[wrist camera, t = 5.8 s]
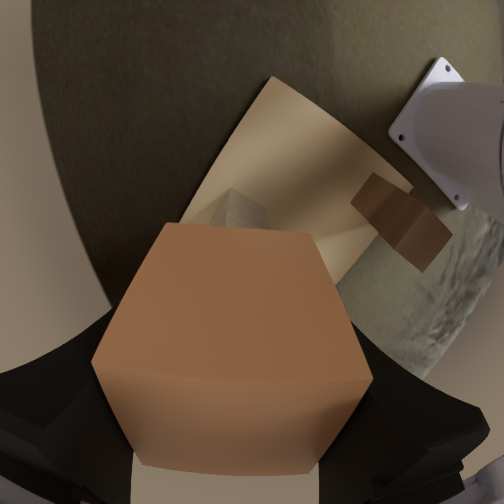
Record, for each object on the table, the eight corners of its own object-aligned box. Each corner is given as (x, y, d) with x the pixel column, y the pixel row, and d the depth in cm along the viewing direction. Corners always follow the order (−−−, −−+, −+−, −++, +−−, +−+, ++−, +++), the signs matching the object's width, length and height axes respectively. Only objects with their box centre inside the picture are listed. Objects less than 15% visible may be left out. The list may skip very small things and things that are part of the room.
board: (409, 184, 19) (413, 186, 18) (319, 296, 23) (321, 300, 22) (271, 76, 16) (272, 75, 15) (180, 219, 20) (179, 222, 19)
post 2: (397, 194, 18) (453, 234, 12) (376, 223, 19) (422, 272, 13) (372, 172, 18) (426, 206, 12) (349, 202, 19) (393, 248, 13)
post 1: (266, 208, 19) (276, 260, 13) (244, 240, 20) (244, 301, 14) (231, 187, 18) (224, 230, 12) (210, 220, 19) (195, 276, 13)
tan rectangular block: (310, 233, 11) (373, 378, 5) (287, 338, 13) (308, 473, 7) (166, 222, 10) (91, 361, 5) (172, 330, 13) (142, 464, 7)
